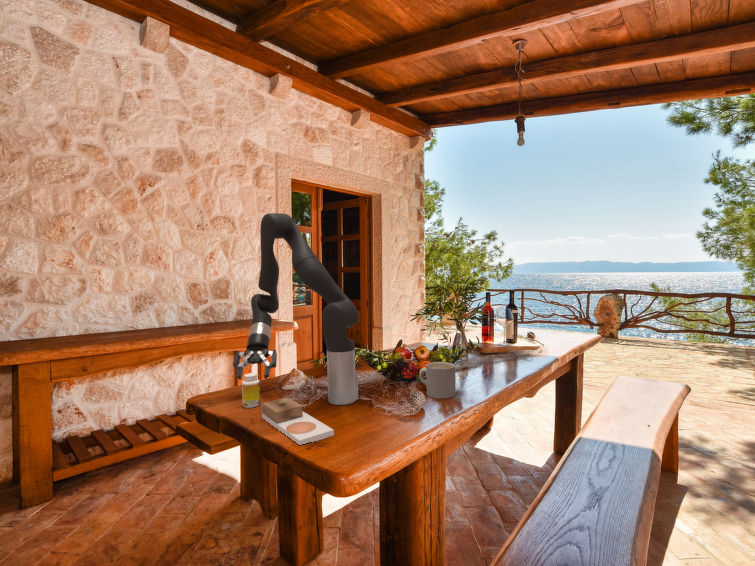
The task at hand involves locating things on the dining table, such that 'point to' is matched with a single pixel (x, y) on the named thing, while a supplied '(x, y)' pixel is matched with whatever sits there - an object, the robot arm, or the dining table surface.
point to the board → (302, 428)
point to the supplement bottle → (250, 390)
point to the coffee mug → (439, 379)
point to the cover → (282, 410)
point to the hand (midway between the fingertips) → (252, 378)
